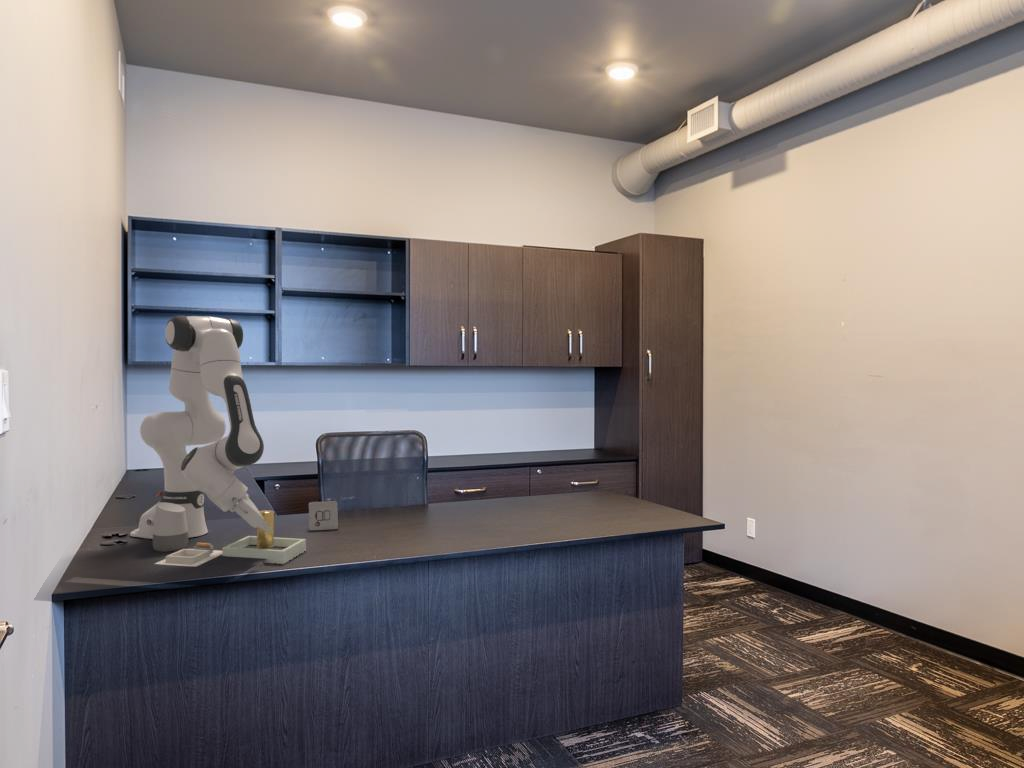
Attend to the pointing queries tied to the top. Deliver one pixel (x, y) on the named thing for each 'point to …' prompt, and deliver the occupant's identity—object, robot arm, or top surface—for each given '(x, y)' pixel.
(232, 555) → the tray
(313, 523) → the electrical switch
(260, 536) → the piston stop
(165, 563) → the base
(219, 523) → the top surface
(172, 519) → the smart speaker
